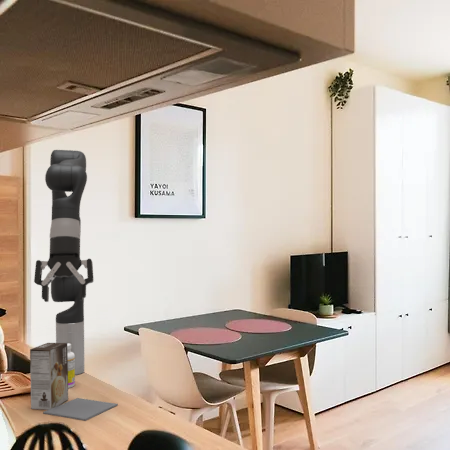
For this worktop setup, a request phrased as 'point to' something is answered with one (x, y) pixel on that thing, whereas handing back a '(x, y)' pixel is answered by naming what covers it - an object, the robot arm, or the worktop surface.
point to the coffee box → (49, 375)
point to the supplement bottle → (71, 366)
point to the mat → (80, 409)
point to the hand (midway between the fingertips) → (63, 300)
